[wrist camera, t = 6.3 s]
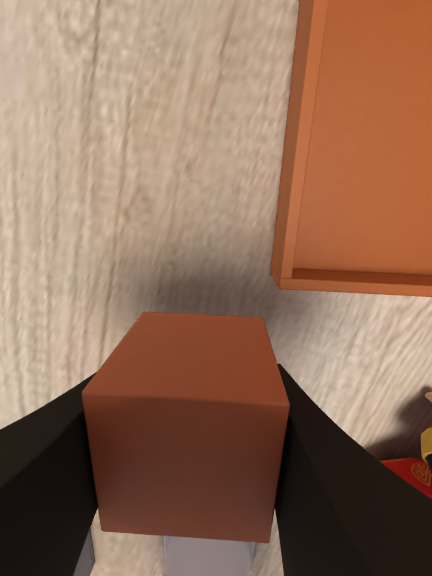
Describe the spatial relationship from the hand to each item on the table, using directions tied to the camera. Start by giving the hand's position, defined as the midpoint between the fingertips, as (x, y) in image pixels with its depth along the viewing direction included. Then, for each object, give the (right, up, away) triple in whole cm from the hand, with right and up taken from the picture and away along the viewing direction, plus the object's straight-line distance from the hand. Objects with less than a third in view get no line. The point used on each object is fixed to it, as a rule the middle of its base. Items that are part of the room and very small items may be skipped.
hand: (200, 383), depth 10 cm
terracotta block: (0, 0, +1) cm, 1 cm away
